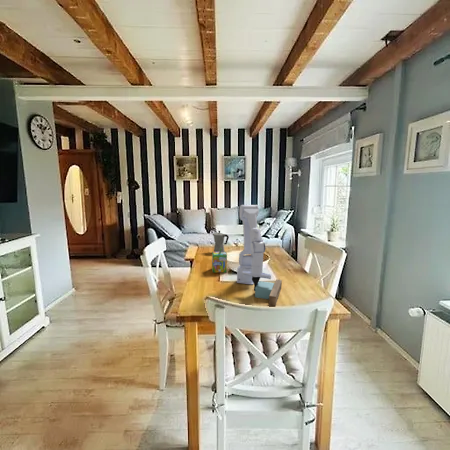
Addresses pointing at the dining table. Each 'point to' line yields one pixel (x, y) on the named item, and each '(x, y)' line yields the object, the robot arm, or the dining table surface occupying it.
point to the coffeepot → (219, 241)
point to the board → (275, 292)
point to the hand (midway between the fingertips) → (255, 290)
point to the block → (263, 289)
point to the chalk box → (219, 262)
